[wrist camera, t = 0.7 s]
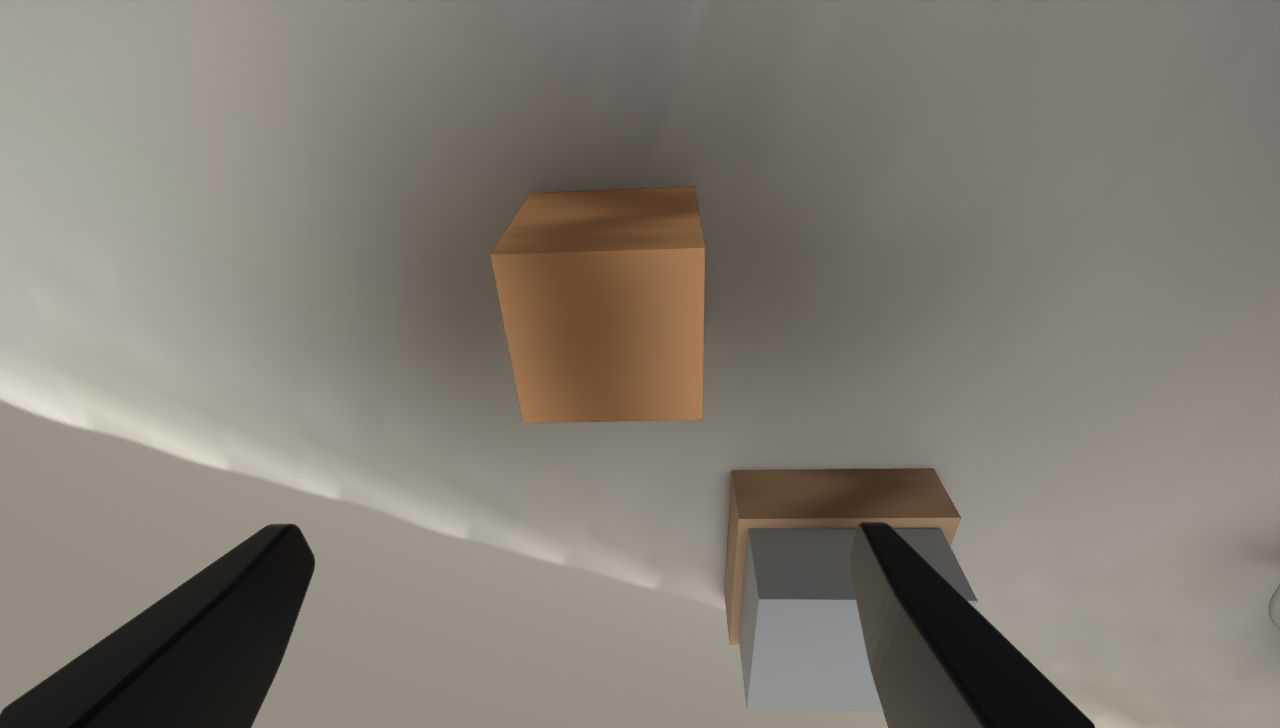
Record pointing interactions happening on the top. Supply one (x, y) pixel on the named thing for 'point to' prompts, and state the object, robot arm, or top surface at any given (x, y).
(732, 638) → the tower base
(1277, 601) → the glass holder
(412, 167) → the top surface
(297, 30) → the top surface
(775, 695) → the tower top
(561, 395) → the orange cube
